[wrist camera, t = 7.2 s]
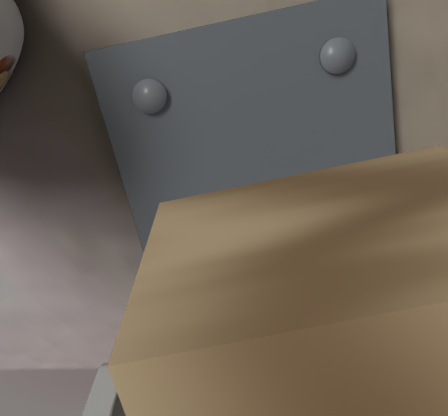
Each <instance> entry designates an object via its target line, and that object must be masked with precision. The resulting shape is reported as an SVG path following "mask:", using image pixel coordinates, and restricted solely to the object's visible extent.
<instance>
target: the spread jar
mask: <svg viewBox="0 0 448 416" xmlns="http://www.w3.org/2000/svg"><path fill="white" fill-rule="evenodd" d="M23 41H24V26H23V20H22V17H21V14H20V11H19V9H18V7H17V5H16V3H15V1H14V0H0V95H1V93H2V92H3V90H4V89H5V88H6V86H7V84H8V83H9V81H10V79H11V77H12V75H13V73H14V71H15V69H16V66H17V64H18V62H19V59H20V55H21V52H22V47H23Z"/></svg>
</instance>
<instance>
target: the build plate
mask: <svg viewBox="0 0 448 416" xmlns="http://www.w3.org/2000/svg"><path fill="white" fill-rule="evenodd" d="M83 53H84V56H85V59H86V63H87V66H88V69H89V73H90V76H91V79H92V83H93V86H94V89H95V93H96V96H97V99H98V102H99V106H100V109H101V112H102V116H103V119H104V122H105V126H106V129H107V132H108V136H109V139H110V142H111V145H112V149H113V152H114V155H115V159H116V162H117V165H118V169H119V172H120V175H121V179H122V182H123V185H124V189H125V192H126V195H127V198H128V202H129V205H130V208H131V212H132V215H133V218H134V222H135V225H136V228H137V232H138V235H139V238H140V242H141V245H142V248H143V251H144V250H145V247H146V244H147V241H148V238H149V235H150V231H151V228H152V225H153V222H154V219H155V216H156V213H157V209H158V206H159V203H161V202H166V201H171V200H176V199H181V198H186V197H191V196H195V195H200V194H205V193H210V192H215V191H220V190H225V189H229V188H234V187H239V186H244V185H249V184H254V183H259V182H264V181H268V180H273V179H278V178H283V177H288V176H293V175H298V174H302V173H307V172H312V171H317V170H322V169H327V168H332V167H337V166H341V165H346V164H351V163H356V162H361V161H366V160H371V159H375V158H380V157H385V156H390V155H395V154H396V150H395V134H394V118H393V102H392V86H391V70H390V54H389V38H388V22H387V6H386V0H318V1H314V2H309V3H305V4H300V5H296V6H291V7H287V8H282V9H278V10H273V11H269V12H264V13H260V14H255V15H251V16H246V17H242V18H237V19H232V20H228V21H223V22H219V23H214V24H210V25H205V26H201V27H196V28H192V29H187V30H183V31H178V32H174V33H169V34H165V35H160V36H156V37H151V38H147V39H142V40H138V41H133V42H129V43H124V44H119V45H115V46H110V47H106V48H101V49H97V50H92V51H88V52H83Z"/></svg>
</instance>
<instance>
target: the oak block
mask: <svg viewBox="0 0 448 416" xmlns="http://www.w3.org/2000/svg"><path fill="white" fill-rule="evenodd" d="M108 370H109V372H110V375H111V378H112V380H113V383H114V386H115V388H116V391H117V394H118V396H119V399H120V401H121V404H122V407H123V409H124V412H125V415H126V416H448V149H447V148H444V147H442V146H434V147H429V148H424V149H419V150H414V151H409V152H405V153H400V154H395V155H390V156H385V157H380V158H375V159H371V160H366V161H361V162H356V163H351V164H346V165H341V166H337V167H332V168H327V169H322V170H317V171H312V172H307V173H302V174H298V175H293V176H288V177H283V178H278V179H273V180H268V181H264V182H259V183H254V184H249V185H244V186H239V187H234V188H229V189H225V190H220V191H215V192H210V193H205V194H200V195H195V196H191V197H186V198H181V199H176V200H171V201H166V202H161V203H159V206H158V209H157V213H156V216H155V219H154V222H153V225H152V228H151V231H150V235H149V238H148V241H147V244H146V247H145V250H144V253H143V257H142V260H141V263H140V266H139V269H138V272H137V275H136V279H135V282H134V285H133V288H132V291H131V294H130V298H129V301H128V304H127V307H126V310H125V313H124V316H123V320H122V323H121V326H120V329H119V332H118V335H117V338H116V342H115V345H114V348H113V351H112V354H111V357H110V360H109V364H108Z"/></svg>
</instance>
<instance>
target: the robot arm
mask: <svg viewBox="0 0 448 416" xmlns="http://www.w3.org/2000/svg"><path fill="white" fill-rule="evenodd" d="M108 364H109V362H108V363H104V364H102V365H101V366H100V367H99V369H98V371H97V374H96V377H95V380H94V383H93V386H92V389H91V392H90V394H89V397H88V400H87V403H86V406H85V408H84V411H83V414H82V416H126V415H125V412H124V409H123V407H122V404H121V401H120V399H119V396H118V394H117V391H116V388H115V386H114V383H113V380H112V378H111V375H110V372H109V370H108Z"/></svg>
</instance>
